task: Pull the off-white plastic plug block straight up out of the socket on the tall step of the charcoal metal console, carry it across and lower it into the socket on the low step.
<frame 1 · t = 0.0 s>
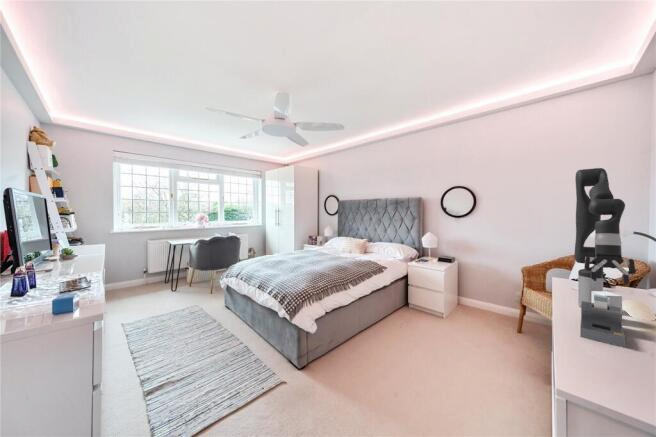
hand: (609, 282, 105), 22 cm above the table, tool pointing down, fingers open, 8 cm apart
console: (600, 331, 107), on the table
plug: (600, 313, 112), point 6 cm above the table, touching console
supplement box: (606, 319, 119), on the table
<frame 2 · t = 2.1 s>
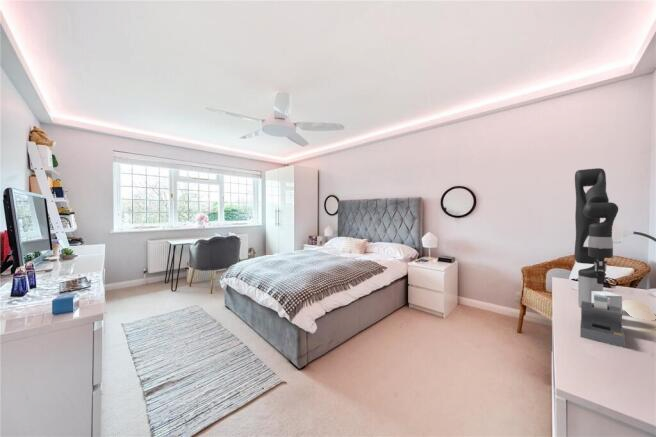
hand: (600, 281, 111), 21 cm above the table, tool pointing down, fingers open, 8 cm apart
nothing on the table moved.
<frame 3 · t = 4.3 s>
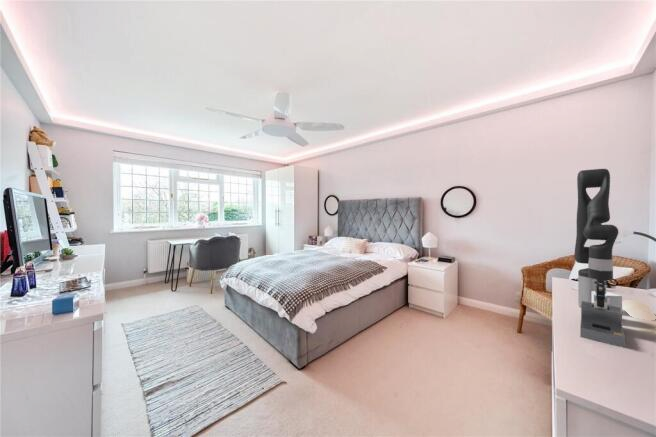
hand: (600, 305, 112), 10 cm above the table, tool pointing down, fingers closed on plug, 3 cm apart
plug: (600, 313, 112), point 6 cm above the table, touching console, gripper
everything else where it was.
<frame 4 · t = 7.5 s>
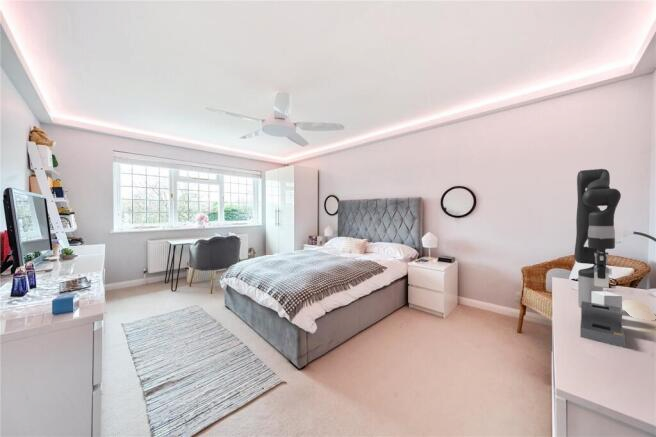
hand: (601, 277, 103), 25 cm above the table, tool pointing down, fingers closed on plug, 3 cm apart
plug: (601, 285, 103), point 21 cm above the table, touching gripper
everything else where it was.
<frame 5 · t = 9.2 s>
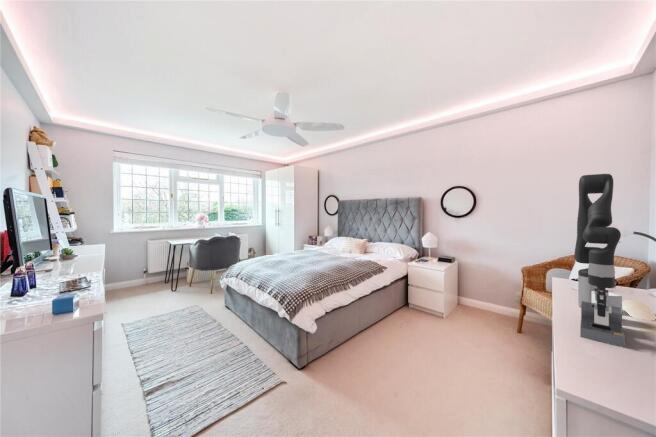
hand: (601, 314, 103), 9 cm above the table, tool pointing down, fingers closed on plug, 3 cm apart
plug: (601, 323, 103), point 6 cm above the table, touching gripper
everything else where it was.
when the fingers open (5 cm above the table, at t = 10.7 s): plug stays where it is, resting on console.
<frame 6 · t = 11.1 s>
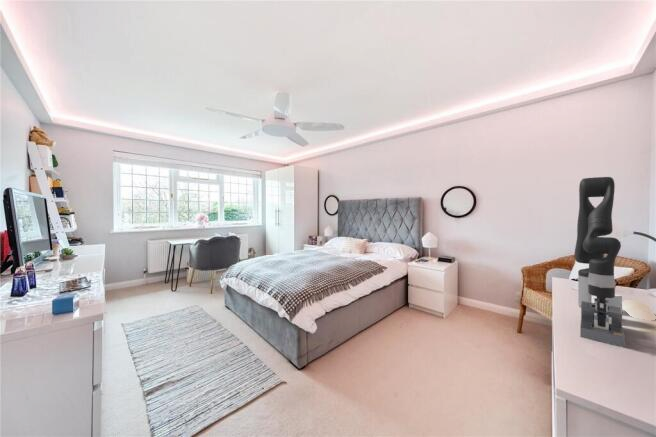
hand: (601, 323, 103), 6 cm above the table, tool pointing down, fingers open, 6 cm apart
plug: (601, 334, 103), point 1 cm above the table, touching console
everything else where it was.
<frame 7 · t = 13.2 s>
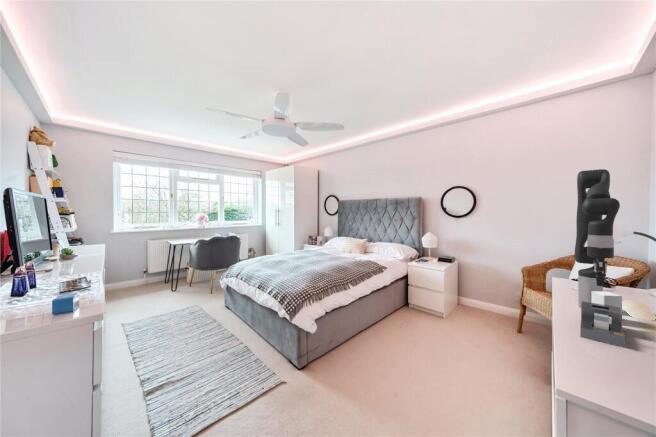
hand: (600, 283, 104), 22 cm above the table, tool pointing down, fingers open, 8 cm apart
nothing on the table moved.
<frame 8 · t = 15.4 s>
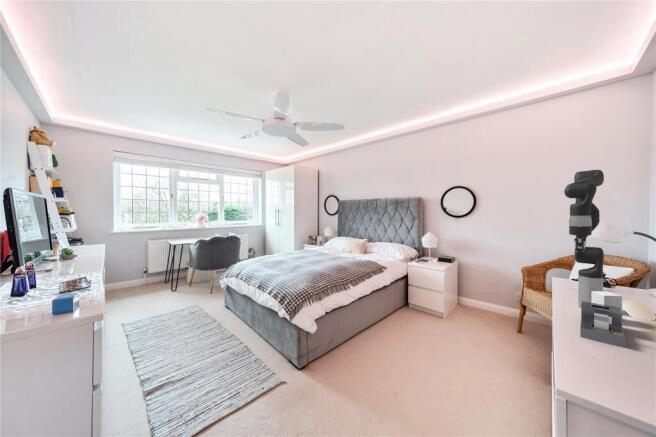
hand: (580, 258, 117), 30 cm above the table, tool pointing down, fingers open, 8 cm apart
nothing on the table moved.
at the end: plug 0.1 cm from the target spot on the console, point 1.0 cm above the console's base; plug tilted 0°; the gripper is holding nothing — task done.
